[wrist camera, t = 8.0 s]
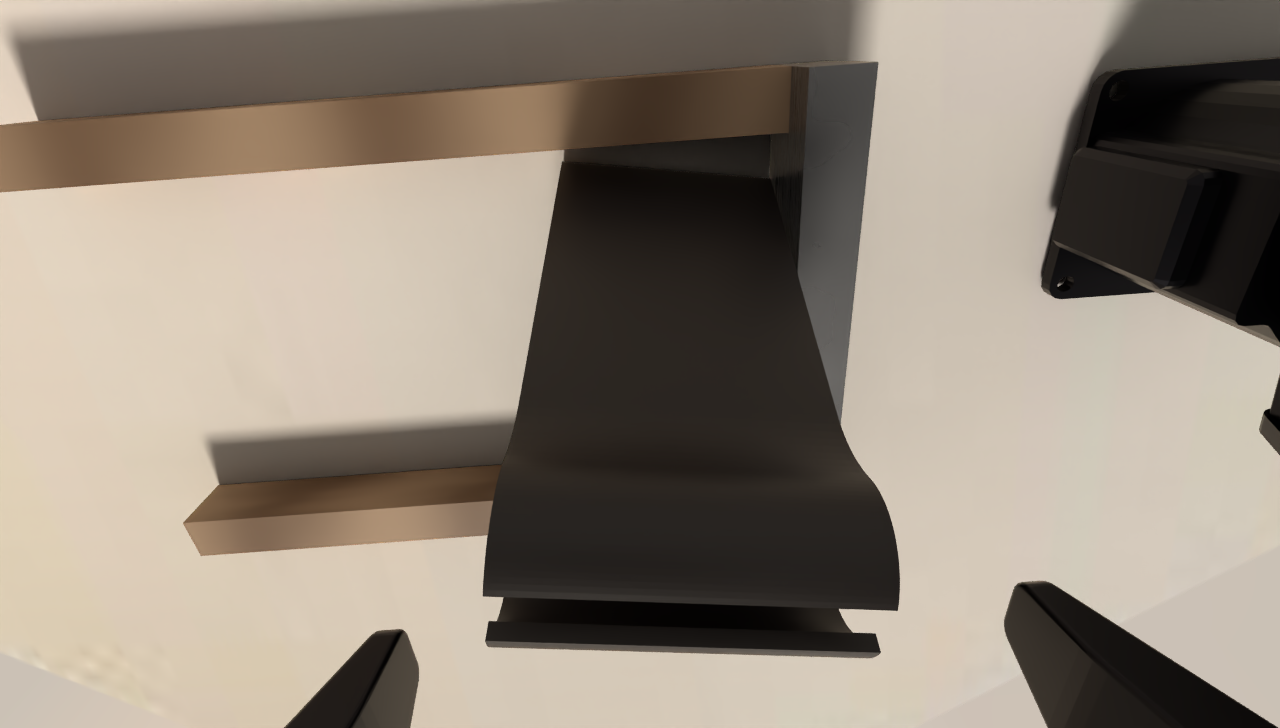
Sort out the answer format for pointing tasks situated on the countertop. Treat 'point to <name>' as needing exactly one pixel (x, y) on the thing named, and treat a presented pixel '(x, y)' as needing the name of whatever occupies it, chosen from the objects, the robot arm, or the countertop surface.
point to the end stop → (826, 195)
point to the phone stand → (680, 438)
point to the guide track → (376, 137)
